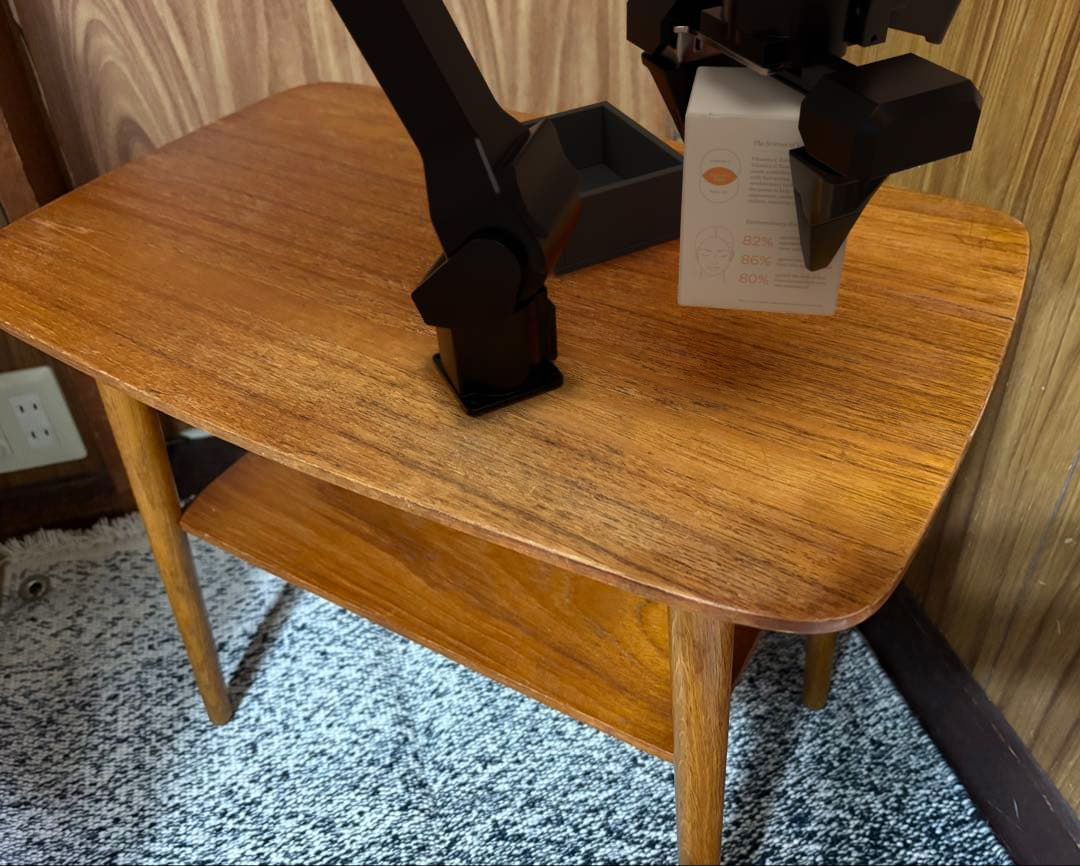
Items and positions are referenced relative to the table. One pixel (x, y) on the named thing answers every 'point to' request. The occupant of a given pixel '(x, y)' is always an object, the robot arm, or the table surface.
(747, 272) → the small box
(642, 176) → the storage bin
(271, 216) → the table surface
